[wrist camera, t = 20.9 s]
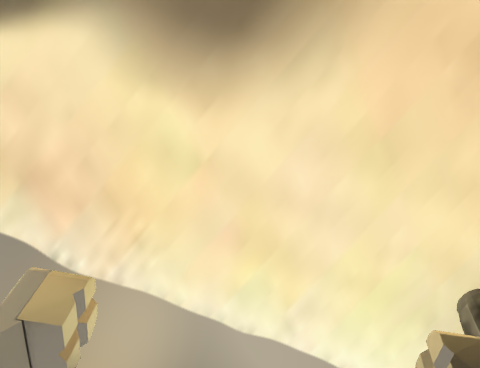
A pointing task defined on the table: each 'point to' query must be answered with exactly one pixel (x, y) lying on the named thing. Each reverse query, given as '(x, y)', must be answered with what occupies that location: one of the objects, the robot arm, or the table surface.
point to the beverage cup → (470, 312)
